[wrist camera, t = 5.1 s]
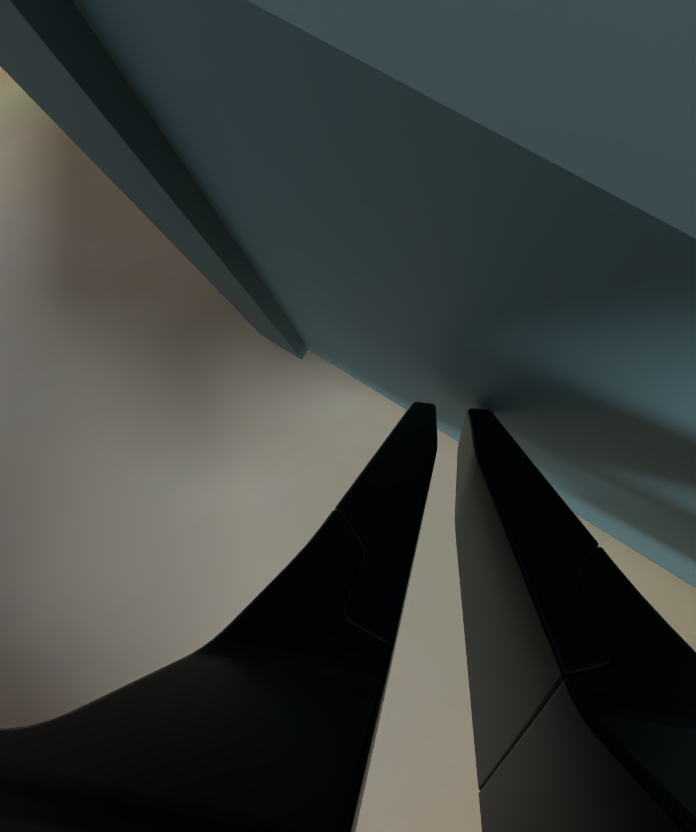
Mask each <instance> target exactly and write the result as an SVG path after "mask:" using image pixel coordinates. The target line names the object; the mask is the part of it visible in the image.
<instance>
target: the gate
mask: <svg viewBox="0 0 696 832" xmlns="http://www.w3.org/2000/svg"><path fill="white" fill-rule="evenodd" d="M0 66H1V67H2V68H3V69H4V70H5V71H6V72H7V73H8V74H9V75H10V76H11V77H12V78H13V80H14V81H15V82H16V83H17V84H18V85H19V86H20V87H21V88H22V89H23V90H24V91H25V92H26V93H27V94H28V95H29V96H30V97H31V98H32V99H33V100H34V101H35V102H36V103H37V104H38V105H39V106H40V107H41V108H42V109H43V110H44V111H45V112H46V114H47V115H48V116H49V117H50V118H51V119H52V120H53V121H54V122H55V123H56V124H57V125H58V126H59V127H60V128H61V129H62V130H63V131H64V132H65V133H66V134H67V135H68V136H69V137H70V138H71V139H72V140H73V141H74V142H75V143H76V144H77V145H78V146H79V147H80V149H81V150H82V151H83V152H84V153H85V154H86V155H87V156H88V157H89V158H90V159H91V160H92V161H93V162H94V163H95V164H96V165H97V166H98V167H99V168H100V169H101V170H102V171H103V172H104V173H105V174H106V175H107V176H108V177H109V178H110V179H111V180H112V181H113V182H114V184H115V185H116V186H117V187H118V188H119V189H120V190H121V191H122V192H123V193H124V194H125V195H126V196H127V197H128V198H129V199H130V200H131V201H132V202H133V203H134V204H135V205H136V206H137V207H138V208H139V209H140V210H141V211H142V212H143V213H144V214H145V215H146V216H147V217H148V219H149V220H150V221H151V222H152V223H153V224H154V225H155V226H156V227H157V228H158V229H159V230H160V231H161V232H162V233H163V234H164V235H165V236H166V237H167V238H168V239H169V240H170V241H171V242H172V243H173V244H174V245H175V246H176V247H177V248H178V249H179V250H180V251H181V252H182V254H183V255H184V256H185V257H186V258H187V259H188V260H189V261H190V262H191V263H192V264H193V265H194V266H195V267H196V268H197V269H198V270H199V271H200V272H201V273H202V274H203V275H204V276H205V277H206V278H207V279H208V280H209V281H210V282H211V283H212V284H213V285H214V286H215V288H216V289H217V290H218V291H219V292H220V293H221V294H222V295H223V296H224V297H225V298H226V299H227V300H228V301H229V302H230V303H231V304H232V305H233V306H234V307H235V308H236V309H237V310H238V311H239V312H240V313H241V314H242V315H243V316H244V317H245V318H246V319H247V320H248V321H249V323H250V324H251V325H252V326H253V327H254V328H255V329H256V330H257V331H258V332H259V333H260V334H261V335H263V336H265V337H266V338H268V339H269V340H271V341H273V342H274V343H276V344H278V345H279V346H281V347H282V348H284V349H286V350H287V351H289V352H290V353H292V354H294V355H295V356H297V357H298V358H300V359H302V358H303V356H304V355H305V353H306V352H307V350H308V349H309V350H311V351H312V352H314V353H316V354H317V355H319V356H320V357H322V358H324V359H325V360H327V361H328V362H330V363H332V364H333V365H335V366H337V367H338V368H340V369H341V370H343V371H345V372H346V373H348V374H350V375H351V376H353V377H354V378H356V379H358V380H359V381H361V382H363V383H364V384H366V385H367V386H369V387H371V388H372V389H374V390H375V391H377V392H379V393H380V394H382V395H384V396H385V397H387V398H388V399H390V400H392V401H393V402H395V403H397V404H398V405H400V406H401V407H403V408H405V409H406V410H408V409H409V407H410V406H411V405H412V404H413V403H414V402H424V403H432V404H434V405H435V406H436V417H437V429H439V430H440V431H442V432H444V433H445V434H447V435H448V436H450V437H452V438H453V439H455V440H457V441H458V442H459V440H460V436H461V432H462V428H463V423H464V419H465V415H466V412H467V410H468V409H470V408H475V409H484V410H489V411H491V412H492V413H493V414H494V415H495V416H496V418H497V419H498V420H499V421H500V422H501V424H502V425H503V426H504V427H505V429H506V430H507V431H508V432H509V434H510V435H511V436H512V437H513V439H514V440H515V441H516V442H517V444H518V445H519V446H520V447H521V448H522V450H523V451H524V452H525V453H526V455H527V456H528V457H529V458H530V460H531V461H532V462H533V463H534V465H535V466H536V467H537V468H538V469H539V471H540V472H541V473H542V474H543V476H544V477H545V478H546V479H547V481H548V482H549V483H550V484H551V486H552V487H553V488H554V489H555V491H556V492H557V493H558V494H559V495H560V497H561V498H562V499H563V500H564V502H565V503H566V504H567V505H568V507H569V508H570V509H571V510H572V512H573V513H575V514H577V515H578V516H580V517H581V518H583V519H585V520H586V521H588V522H590V523H591V524H593V525H594V526H596V527H598V528H599V529H601V530H602V531H604V532H606V533H607V534H609V535H611V536H612V537H614V538H615V539H617V540H619V541H620V542H622V543H624V544H625V545H627V546H628V547H630V548H632V549H633V550H635V551H637V552H638V553H640V554H641V555H643V556H645V557H646V558H648V559H649V560H651V561H653V562H654V563H656V564H658V565H659V566H661V567H662V568H664V569H666V570H667V571H669V572H671V573H672V574H674V575H675V576H677V577H679V578H680V579H682V580H684V581H685V582H687V583H688V584H690V585H692V586H693V587H695V588H696V0H0Z"/></svg>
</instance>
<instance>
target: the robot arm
mask: <svg viewBox="0 0 696 832" xmlns="http://www.w3.org/2000/svg"><path fill="white" fill-rule="evenodd" d="M436 452H437V417H436V406H435V405H434V404H432V403H424V402H414V403H413V404H412V405H411V406H410V407H409V409H408V410H407V412H406V413H405V414H404V416H403V417H402V418H401V420H400V421H399V422H398V424H397V425H396V426H395V428H394V429H393V430H392V432H391V433H390V434H389V436H388V437H387V439H386V440H385V441H384V443H383V444H382V445H381V447H380V448H379V449H378V451H377V452H376V453H375V455H374V456H373V457H372V459H371V460H370V461H369V463H368V464H367V466H366V467H365V468H364V470H363V471H362V472H361V474H360V475H359V476H358V478H357V479H356V480H355V482H354V483H353V484H352V486H351V487H350V488H349V490H348V491H347V493H346V494H345V495H344V497H343V498H342V499H341V501H340V502H339V503H338V505H337V506H336V508H335V510H333V511H332V512H331V514H330V515H329V516H328V518H327V519H326V521H325V522H324V523H323V525H322V526H321V527H320V528H319V530H318V531H317V532H316V533H315V535H314V536H313V537H312V538H311V540H310V541H309V542H308V543H307V545H306V546H305V547H304V548H303V549H302V550H301V551H300V552H299V553H298V554H297V555H296V557H295V558H294V559H293V560H292V561H291V562H290V563H289V564H288V565H287V566H286V567H285V568H284V569H283V570H282V571H281V572H280V573H279V574H278V575H277V577H276V578H275V579H274V580H273V581H272V582H271V583H270V584H269V585H268V586H267V587H266V588H265V589H264V590H263V591H262V592H261V593H260V594H259V595H258V596H257V597H256V598H255V599H254V600H253V601H252V602H251V603H250V604H249V605H248V606H247V607H246V608H245V609H244V610H243V611H242V612H241V613H240V614H239V615H238V616H237V617H236V618H235V619H234V620H233V621H232V622H231V623H230V624H229V625H228V626H227V627H226V628H225V629H224V630H223V631H222V632H221V633H219V634H218V635H217V636H216V637H215V638H213V639H212V640H211V641H210V642H208V643H207V644H206V645H204V646H203V647H201V648H200V649H198V650H197V651H195V652H193V653H192V654H190V655H188V656H186V657H184V658H182V659H180V660H178V661H176V662H174V663H171V664H169V665H167V666H165V667H163V668H161V669H159V670H157V671H155V672H153V673H151V674H149V675H146V676H144V677H142V678H140V679H138V680H136V681H134V682H132V683H130V684H128V685H126V686H124V687H121V688H119V689H117V690H115V691H113V692H111V693H109V694H107V695H105V696H103V697H101V698H99V699H96V700H94V701H92V702H90V703H88V704H86V705H84V706H82V707H80V708H78V709H76V710H74V711H71V712H69V713H67V714H64V715H62V716H59V717H57V718H54V719H52V720H49V721H46V722H42V723H38V724H34V725H30V726H26V727H18V728H10V729H0V832H355V831H356V826H357V821H358V817H359V812H360V808H361V803H362V798H363V794H364V789H365V784H366V780H367V775H368V770H369V766H370V761H371V756H372V752H373V747H374V743H375V738H376V733H377V729H378V724H379V719H380V715H381V710H382V705H383V701H384V696H385V692H386V687H387V682H388V678H389V673H390V668H391V664H392V659H393V654H394V650H395V645H396V640H397V636H398V631H399V627H400V622H401V617H402V613H403V608H404V603H405V599H406V594H407V589H408V585H409V580H410V576H411V571H412V566H413V562H414V557H415V552H416V548H417V543H418V538H419V534H420V529H421V524H422V520H423V515H424V510H425V505H426V501H427V496H428V491H429V486H430V482H431V477H432V472H433V467H434V463H435V458H436ZM455 531H456V544H457V555H458V566H459V577H460V588H461V599H462V610H463V622H464V633H465V644H466V655H467V666H468V677H469V688H470V700H471V711H472V722H473V733H474V744H475V755H476V766H477V777H478V788H479V790H480V792H479V802H480V813H481V824H482V832H696V652H695V651H694V650H693V649H692V648H691V647H690V646H689V645H688V644H687V643H686V642H685V641H684V640H683V639H682V638H681V637H680V636H679V635H678V633H677V632H676V631H675V630H674V629H673V628H672V627H671V626H670V625H669V624H668V623H667V622H666V621H665V620H664V619H663V618H662V617H661V615H660V614H659V613H658V612H657V611H656V610H655V609H654V608H653V607H652V606H651V605H650V604H649V603H648V601H647V600H646V599H645V598H644V597H643V596H642V595H641V594H640V593H639V592H638V590H637V589H636V588H635V587H634V586H633V585H632V583H631V582H630V581H629V580H628V579H627V577H626V576H625V575H624V574H623V573H622V572H621V570H620V569H619V568H618V567H617V566H616V564H615V563H614V562H613V561H612V559H611V558H610V557H609V556H608V555H607V553H606V552H605V551H604V550H603V548H601V547H598V542H597V541H596V540H595V539H594V538H593V536H592V535H591V534H590V533H589V531H588V530H587V529H586V528H585V526H584V525H583V524H582V523H581V521H580V520H579V519H578V518H577V517H576V515H575V514H574V513H573V512H572V510H571V509H570V508H569V507H568V505H567V504H566V503H565V502H564V500H563V499H562V498H561V497H560V495H559V494H558V493H557V492H556V491H555V489H554V488H553V487H552V486H551V484H550V483H549V482H548V481H547V479H546V478H545V477H544V476H543V474H542V473H541V472H540V471H539V469H538V468H537V467H536V466H535V465H534V463H533V462H532V461H531V460H530V458H529V457H528V456H527V455H526V453H525V452H524V451H523V450H522V448H521V447H520V446H519V445H518V444H517V442H516V441H515V440H514V439H513V437H512V436H511V435H510V434H509V432H508V431H507V430H506V429H505V427H504V426H503V425H502V424H501V422H500V421H499V420H498V419H497V418H496V416H495V415H494V414H493V413H492V412H491V411H489V410H484V409H475V408H470V409H468V410H467V412H466V415H465V419H464V423H463V428H462V432H461V436H460V440H459V445H458V456H457V479H456V502H455ZM597 547H598V548H597Z"/></svg>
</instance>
